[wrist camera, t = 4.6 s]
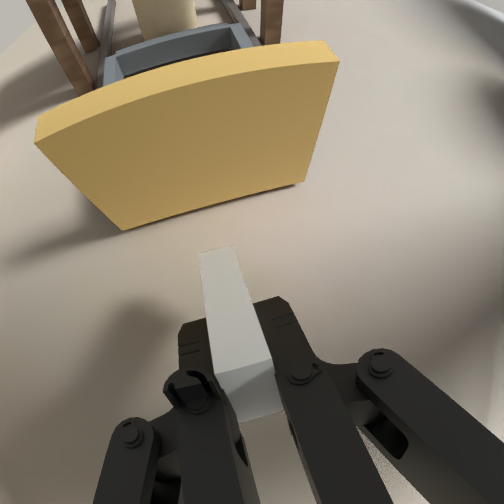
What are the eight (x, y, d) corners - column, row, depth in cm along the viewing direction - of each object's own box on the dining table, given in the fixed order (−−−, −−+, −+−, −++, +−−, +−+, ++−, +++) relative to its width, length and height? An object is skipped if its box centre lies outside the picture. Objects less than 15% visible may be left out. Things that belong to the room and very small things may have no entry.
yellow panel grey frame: (239, 40, 24) (236, -50, 14) (304, 181, 19) (339, 61, 10) (113, 73, 23) (78, -10, 13) (122, 230, 19) (33, 143, 9)
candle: (203, 44, 24) (192, -43, 15) (148, 59, 24) (122, -25, 14) (193, 20, 26) (182, -55, 16) (144, 34, 25) (123, -39, 16)
